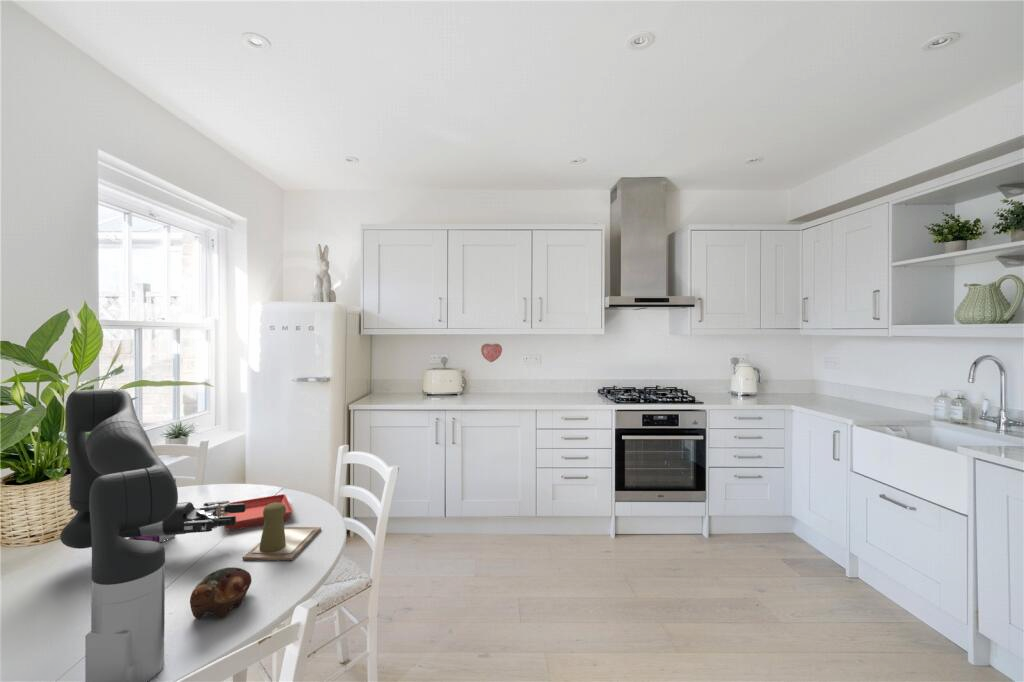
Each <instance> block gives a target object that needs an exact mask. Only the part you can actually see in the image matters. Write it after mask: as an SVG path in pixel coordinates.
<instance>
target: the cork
mask: <svg viewBox="0 0 1024 682" xmlns="http://www.w3.org/2000/svg"><path fill="white" fill-rule="evenodd" d="M285 512H286V507H285V505H284V504H282V503H278V502H277V503H271V504H268V505H267V506H265V508H264V510H263V516H264V518H265V522H264V524H263V528H262V533H261V536H260V537H261V539H260V542H259V543H260V547H259V549H260V550H261V551H262V552H268V553H269V552H276V551H279V550H281V549H283V548H284V547H285V545H286V541H285V531H284V527H285V524H284V523H285V520H283V516H284V515H285Z"/></svg>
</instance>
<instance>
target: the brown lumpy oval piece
mask: <svg viewBox="0 0 1024 682" xmlns="http://www.w3.org/2000/svg"><path fill="white" fill-rule="evenodd" d="M251 584H252V575H251V573H250V571H247V570H245V569H244V568H240V567H235V566H234V567H224V568H220V569H217V570H214V571H212V572H210V573H209V574H208V575H206V576H205V577H204V578H202V580H200V581H199V582H198V584H197V585H196V586H195V587H194V588H193V590H192V592H191V594H190V599H189V603H190V604H189V605H190V611H191V613H192V616H193V617H194V618H195V619H196V620H197V619H200V618H203V617H204V616H205V615H206V614H207V613H210V614H211V615H212V616H214V617H215V618H216V619H218V620H223V619H225V618H226V617H227V616H228V614H229V613H230V611H231V610H232V608H233V607H235V608H238V607H240V606H241V605H242V603H243V602H244V600H245V598H246V595H247V593H248V591H249V588H250V586H251Z"/></svg>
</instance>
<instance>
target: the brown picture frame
mask: <svg viewBox="0 0 1024 682" xmlns="http://www.w3.org/2000/svg"><path fill="white" fill-rule="evenodd" d="M321 530H322V527H321V526H284V531H285V541H286V545H285V547H284V548H283V549H281V550H279V551H276V552H269V553H268V552H262V551H261V550H260V549H259V547H260V542H259V543H257V544H256V545H255V546H253V548H252V549H250V551H248V552H246V554H245V555H243V557H242V561H243V560H292V559H293V558H294V557H295V556H296V555H297V554H298V553H299V552H300V551H301V550H302V549H303V548H304V549H305V547H306V546H307V545H308V544H309V543H310V542H311V541H312V540H313V539H314V538H315V537H316V536H317V535H318V534H319V533H318V532H321ZM317 533H318V534H317ZM316 534H317V535H316ZM315 535H316V536H315ZM314 536H315V537H314ZM313 537H314V538H313ZM312 538H313V539H312ZM311 539H312V540H311ZM310 540H311V541H310ZM309 541H310V542H309ZM308 542H309V543H308ZM307 543H308V544H307ZM306 544H307V545H306ZM305 545H306V546H305ZM304 546H305V547H304ZM304 549H303V550H304ZM303 550H302V551H303ZM302 551H301V552H302ZM301 552H300V553H301ZM300 553H299V554H300ZM299 554H298V555H299ZM298 555H297V556H298ZM297 556H296V557H297ZM296 557H295V558H296ZM295 558H294V559H295ZM294 559H293V560H294ZM293 560H292V561H293Z"/></svg>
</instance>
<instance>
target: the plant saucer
mask: <svg viewBox="0 0 1024 682" xmlns="http://www.w3.org/2000/svg"><path fill="white" fill-rule="evenodd" d="M277 502H278V503H282V504H284V505H285V507H286V512H285V515H284V516H283V520H284V521H286V520H287V519H288V518H289V516H291V515H292V514H293V511H294V509H293V507H292V505H291V504H290V500H289V499H288V497H287V495H286V494H285V493H283V494H281V493H280V494H278V495H277V494H276V495H271V496H269V495H268V496H263V497H257V498H251V499H244V500H238V501H231V502H229V503H230V504H240V503H245V504H246V510H245V512H241V513H228V514H224V515H221V516H236V523H235V525H231V526H224V528H226V529H227V530H229V531H234V530H240V528H241V529H244V528H250V527H255V526H256V525H257V526H260V525H261V524H262V525H264V522H265V518H264V516H263V510H264V508H265V506H267V505H268V504H271V503H277ZM223 508H224V507H223ZM223 508H221V509H223ZM262 525H261V526H262Z"/></svg>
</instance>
